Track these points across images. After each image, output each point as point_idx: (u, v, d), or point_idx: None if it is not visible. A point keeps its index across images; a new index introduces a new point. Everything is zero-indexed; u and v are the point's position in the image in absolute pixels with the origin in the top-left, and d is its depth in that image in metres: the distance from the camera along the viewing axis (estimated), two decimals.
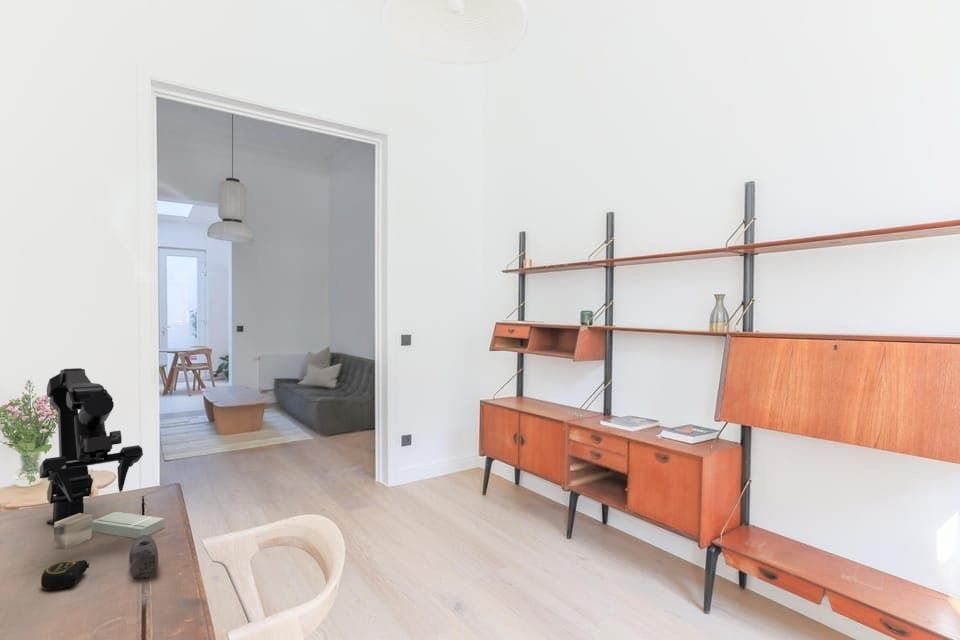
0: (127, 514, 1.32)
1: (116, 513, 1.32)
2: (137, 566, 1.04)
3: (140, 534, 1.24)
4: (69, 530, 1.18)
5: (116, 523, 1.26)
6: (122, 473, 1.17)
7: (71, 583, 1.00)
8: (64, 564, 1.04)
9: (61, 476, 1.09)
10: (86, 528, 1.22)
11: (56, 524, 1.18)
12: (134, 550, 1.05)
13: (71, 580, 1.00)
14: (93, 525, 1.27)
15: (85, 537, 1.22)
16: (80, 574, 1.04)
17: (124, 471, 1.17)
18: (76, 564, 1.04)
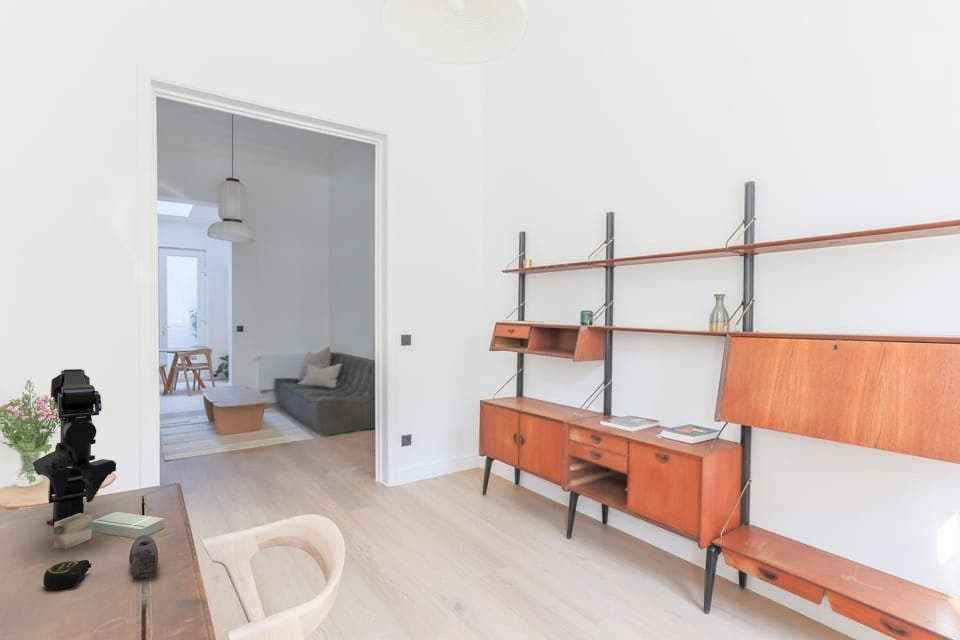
0: (127, 514, 1.32)
1: (116, 513, 1.32)
2: (137, 566, 1.04)
3: (140, 534, 1.24)
4: (69, 531, 1.18)
5: (116, 523, 1.26)
6: (86, 487, 1.19)
7: (73, 583, 1.00)
8: (66, 564, 1.04)
9: None
10: (86, 528, 1.22)
11: (56, 524, 1.18)
12: (134, 550, 1.05)
13: (73, 580, 1.00)
14: (93, 525, 1.27)
15: (85, 537, 1.22)
16: (82, 574, 1.04)
17: (87, 486, 1.18)
18: (78, 563, 1.04)
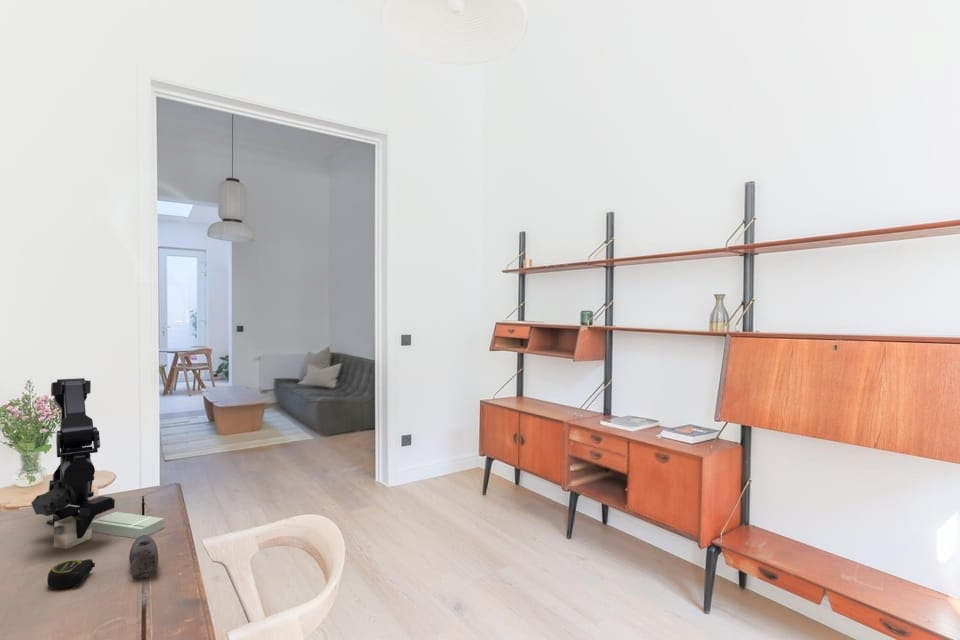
0: (127, 514, 1.32)
1: (116, 513, 1.32)
2: (137, 566, 1.04)
3: (140, 534, 1.24)
4: (69, 530, 1.18)
5: (116, 523, 1.26)
6: (76, 524, 1.19)
7: (77, 582, 1.01)
8: (70, 563, 1.04)
9: (54, 515, 1.20)
10: None
11: (56, 524, 1.18)
12: (134, 550, 1.05)
13: (77, 579, 1.01)
14: (93, 525, 1.27)
15: (85, 537, 1.22)
16: (86, 573, 1.04)
17: (77, 523, 1.19)
18: (82, 563, 1.04)
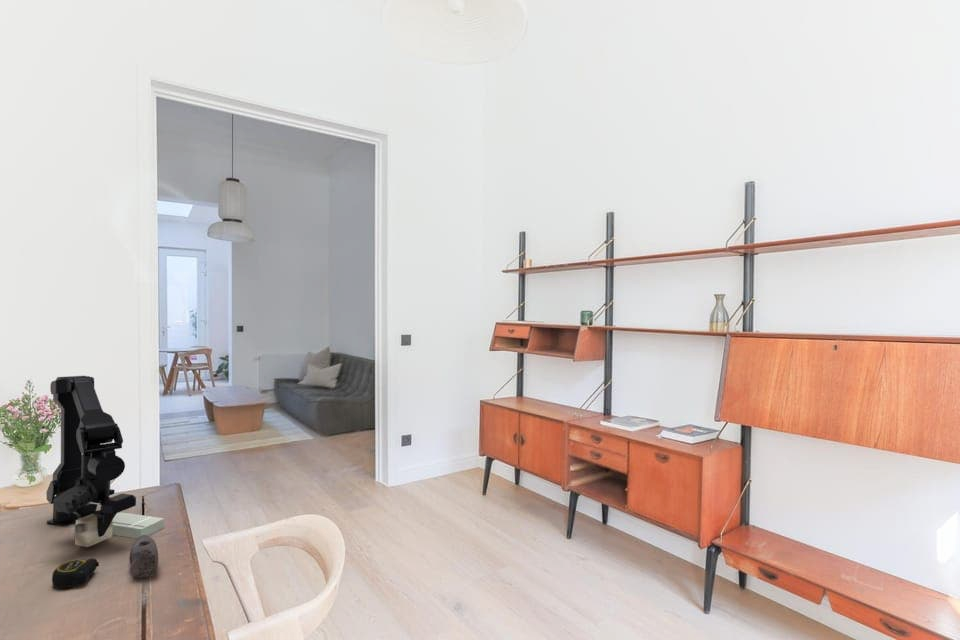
0: (127, 514, 1.32)
1: None
2: (137, 566, 1.04)
3: (140, 534, 1.24)
4: (90, 528, 1.16)
5: (116, 523, 1.26)
6: (98, 522, 1.17)
7: (82, 581, 1.01)
8: (74, 562, 1.05)
9: (75, 513, 1.18)
10: None
11: (77, 522, 1.17)
12: (134, 550, 1.05)
13: (82, 578, 1.01)
14: None
15: (106, 535, 1.20)
16: (90, 572, 1.04)
17: (99, 521, 1.17)
18: (86, 562, 1.05)
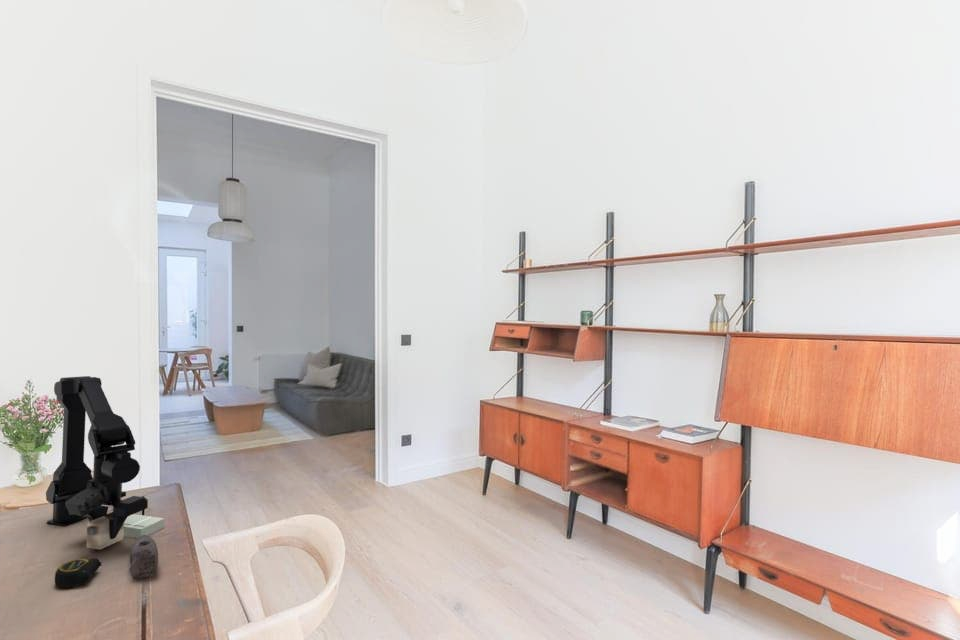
0: None
1: None
2: (137, 566, 1.04)
3: (140, 534, 1.24)
4: (102, 531, 1.16)
5: None
6: (110, 525, 1.17)
7: (84, 581, 1.01)
8: (77, 562, 1.05)
9: (86, 515, 1.18)
10: None
11: (89, 524, 1.16)
12: (134, 550, 1.05)
13: (84, 578, 1.01)
14: None
15: (118, 537, 1.20)
16: (93, 572, 1.05)
17: (111, 523, 1.17)
18: (89, 562, 1.05)
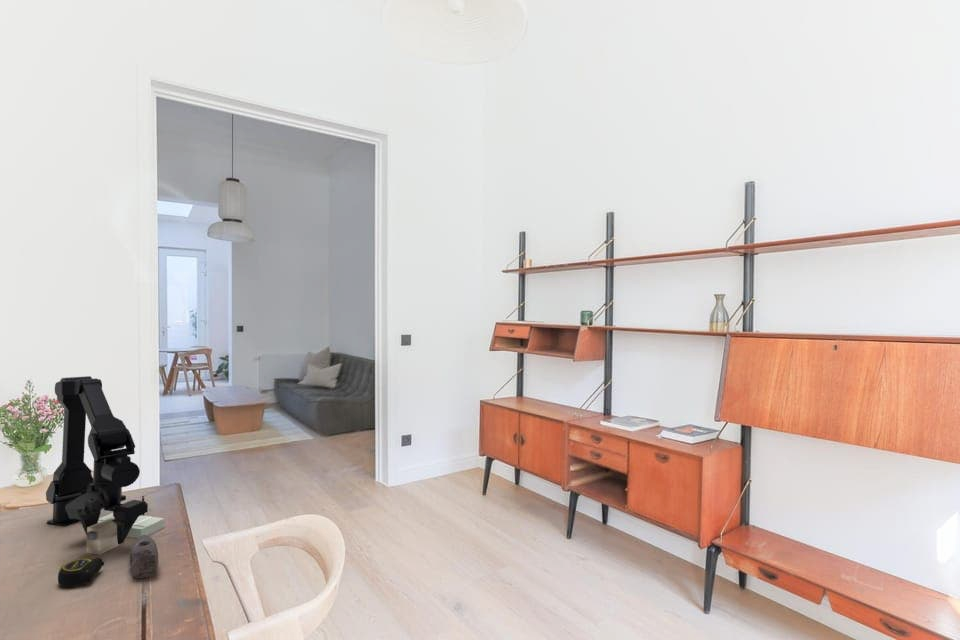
0: None
1: None
2: (137, 566, 1.04)
3: (140, 534, 1.24)
4: (102, 536, 1.16)
5: None
6: (117, 530, 1.16)
7: (87, 580, 1.02)
8: (80, 561, 1.05)
9: None
10: None
11: (89, 529, 1.16)
12: (134, 550, 1.05)
13: (87, 577, 1.01)
14: None
15: (117, 542, 1.20)
16: (96, 571, 1.05)
17: (118, 528, 1.16)
18: (92, 561, 1.05)
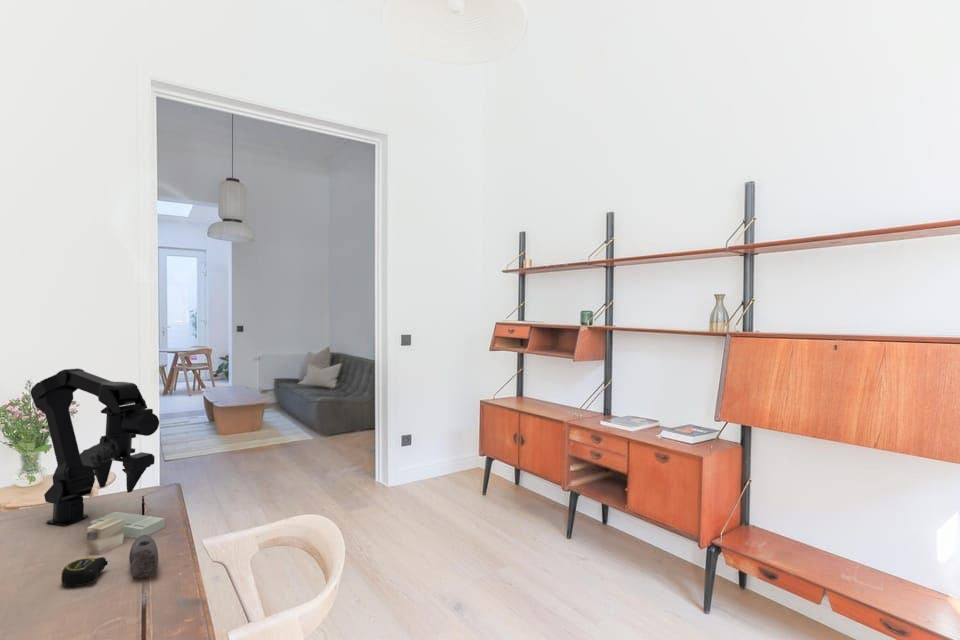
0: (127, 514, 1.32)
1: (116, 513, 1.32)
2: (137, 566, 1.04)
3: (140, 534, 1.24)
4: (102, 536, 1.16)
5: None
6: (127, 479, 1.26)
7: (91, 580, 1.02)
8: (83, 561, 1.05)
9: (92, 467, 1.28)
10: (118, 532, 1.20)
11: (89, 529, 1.16)
12: (134, 550, 1.05)
13: (91, 577, 1.02)
14: None
15: (117, 542, 1.20)
16: (99, 571, 1.05)
17: (128, 477, 1.26)
18: (95, 561, 1.05)
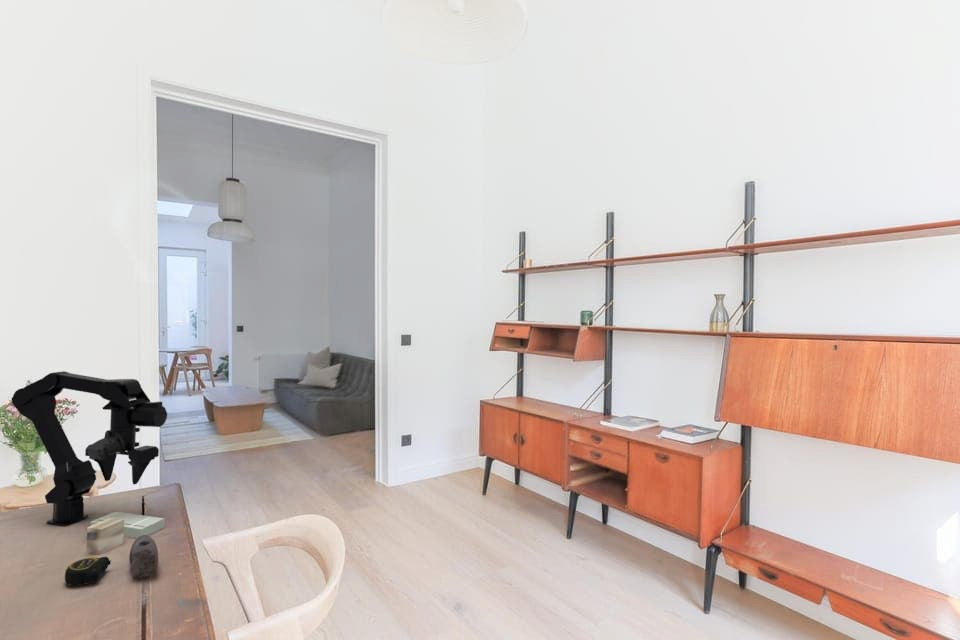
0: (127, 514, 1.32)
1: (116, 513, 1.32)
2: (137, 566, 1.04)
3: (140, 534, 1.24)
4: (102, 536, 1.16)
5: None
6: (132, 471, 1.31)
7: (94, 579, 1.02)
8: (87, 561, 1.05)
9: (97, 461, 1.33)
10: (118, 532, 1.20)
11: (89, 529, 1.16)
12: (134, 550, 1.05)
13: (94, 576, 1.02)
14: None
15: (117, 542, 1.20)
16: (102, 570, 1.05)
17: (133, 470, 1.31)
18: (98, 560, 1.06)
